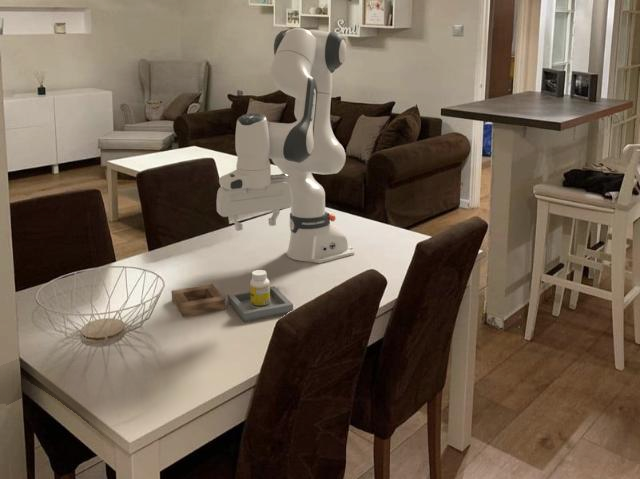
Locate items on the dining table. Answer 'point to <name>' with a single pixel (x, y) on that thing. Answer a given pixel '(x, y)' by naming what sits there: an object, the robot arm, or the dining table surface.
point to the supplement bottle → (259, 289)
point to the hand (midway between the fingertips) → (255, 227)
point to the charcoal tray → (248, 313)
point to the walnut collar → (198, 306)
